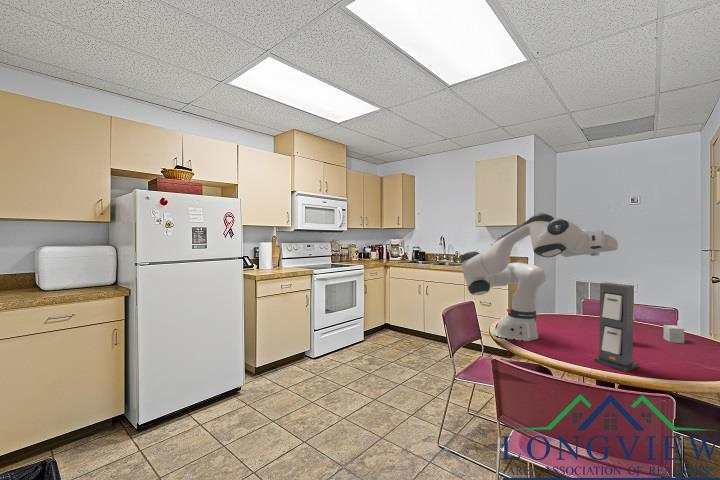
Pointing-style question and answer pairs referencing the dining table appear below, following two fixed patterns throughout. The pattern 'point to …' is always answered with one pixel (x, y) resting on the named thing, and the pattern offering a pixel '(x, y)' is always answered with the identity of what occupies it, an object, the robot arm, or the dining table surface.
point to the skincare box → (673, 333)
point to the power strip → (625, 324)
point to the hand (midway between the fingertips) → (595, 253)
